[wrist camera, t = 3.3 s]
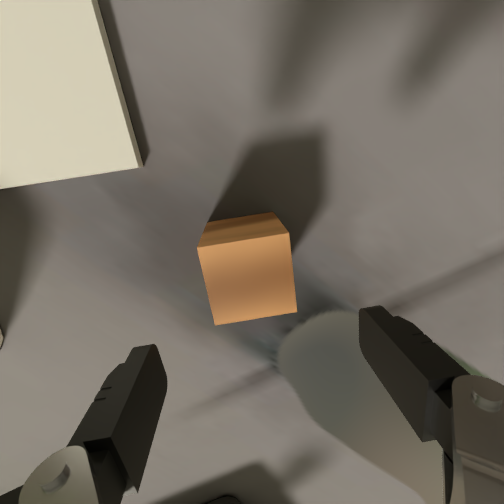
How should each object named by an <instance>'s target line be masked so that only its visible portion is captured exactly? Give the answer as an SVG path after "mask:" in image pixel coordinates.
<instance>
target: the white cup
mask: <svg viewBox="0 0 504 504" xmlns="http://www.w3.org/2000/svg"><path fill="white" fill-rule="evenodd" d="M2 341H3V335H2V332H1V329H0V348H1V344H2Z"/></svg>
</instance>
